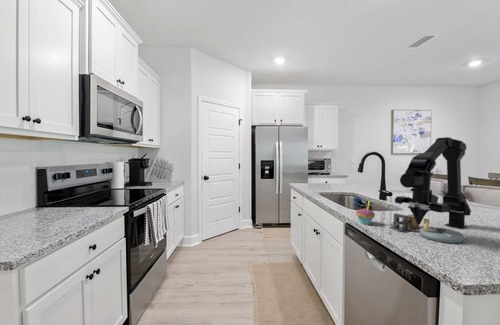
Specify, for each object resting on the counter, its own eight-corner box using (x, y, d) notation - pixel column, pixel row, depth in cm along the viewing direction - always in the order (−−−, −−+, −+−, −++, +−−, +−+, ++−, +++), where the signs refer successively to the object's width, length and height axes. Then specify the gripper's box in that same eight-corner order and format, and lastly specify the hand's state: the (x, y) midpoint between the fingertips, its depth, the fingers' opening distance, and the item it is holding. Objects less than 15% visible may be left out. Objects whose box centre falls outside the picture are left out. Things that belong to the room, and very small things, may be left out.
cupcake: (373, 221, 124) (373, 198, 123) (376, 226, 116) (376, 201, 115) (354, 220, 126) (355, 197, 126) (356, 224, 118) (356, 200, 118)
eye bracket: (396, 226, 115) (397, 212, 115) (412, 230, 109) (412, 216, 108) (389, 228, 113) (389, 213, 113) (404, 232, 106) (405, 217, 106)
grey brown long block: (411, 225, 117) (411, 214, 117) (419, 226, 113) (419, 216, 113) (388, 229, 110) (388, 218, 110) (395, 231, 107) (395, 220, 106)
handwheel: (412, 231, 107) (413, 215, 107) (447, 232, 106) (448, 215, 106) (432, 242, 94) (433, 224, 93) (473, 243, 92) (473, 225, 92)
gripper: (459, 190, 96) (456, 229, 97) (411, 183, 113) (409, 217, 114) (442, 190, 92) (439, 232, 92) (395, 183, 109) (392, 218, 109)
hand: (418, 224), depth 102 cm, fingers closed
